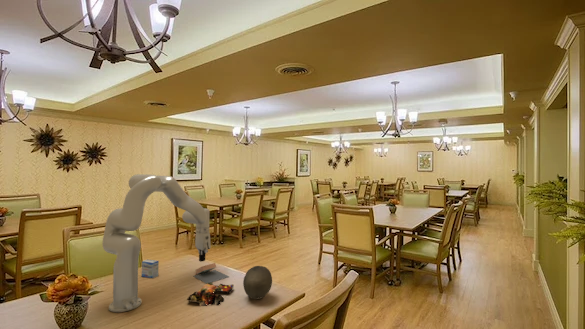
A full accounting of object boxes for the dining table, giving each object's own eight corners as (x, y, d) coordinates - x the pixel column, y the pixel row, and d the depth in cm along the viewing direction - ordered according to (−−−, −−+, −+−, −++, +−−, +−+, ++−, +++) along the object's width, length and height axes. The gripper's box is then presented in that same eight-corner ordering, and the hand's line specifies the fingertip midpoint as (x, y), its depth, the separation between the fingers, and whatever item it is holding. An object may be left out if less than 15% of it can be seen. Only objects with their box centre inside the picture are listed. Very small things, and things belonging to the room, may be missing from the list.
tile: (208, 271, 174) (216, 267, 169) (196, 274, 168) (203, 270, 163) (207, 266, 175) (215, 262, 170) (195, 269, 169) (202, 266, 164)
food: (219, 309, 129) (219, 301, 129) (180, 306, 132) (180, 298, 132) (237, 288, 150) (237, 282, 150) (203, 286, 154) (203, 279, 154)
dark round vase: (236, 299, 137) (236, 267, 137) (256, 289, 148) (257, 260, 149) (258, 308, 129) (259, 274, 129) (278, 297, 140) (279, 265, 140)
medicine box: (141, 276, 163) (141, 261, 163) (147, 274, 168) (147, 259, 168) (152, 278, 161) (152, 262, 161) (158, 275, 165) (158, 260, 165)
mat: (229, 276, 165) (229, 276, 165) (207, 283, 155) (207, 283, 155) (214, 270, 175) (214, 269, 175) (193, 276, 165) (193, 275, 165)
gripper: (215, 230, 170) (214, 262, 170) (201, 226, 180) (201, 256, 180) (203, 232, 164) (203, 265, 164) (190, 228, 174) (189, 259, 174)
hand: (202, 260), depth 172 cm, fingers closed
